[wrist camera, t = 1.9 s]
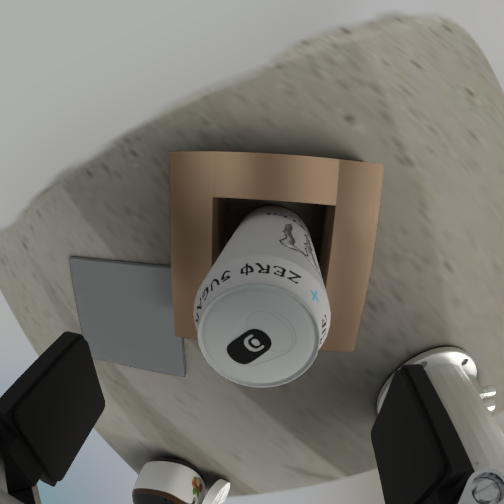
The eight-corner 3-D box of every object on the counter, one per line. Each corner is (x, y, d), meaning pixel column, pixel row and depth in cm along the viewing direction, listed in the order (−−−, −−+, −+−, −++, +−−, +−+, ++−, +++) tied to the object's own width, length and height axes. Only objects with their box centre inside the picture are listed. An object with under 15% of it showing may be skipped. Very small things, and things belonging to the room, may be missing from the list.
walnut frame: (365, 162, 24) (383, 164, 19) (344, 320, 28) (353, 351, 23) (191, 151, 25) (170, 151, 20) (191, 308, 29) (175, 336, 24)
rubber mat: (179, 267, 28) (177, 269, 27) (186, 373, 31) (184, 376, 31) (72, 256, 29) (69, 258, 28) (90, 353, 32) (88, 356, 32)
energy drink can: (324, 244, 26) (365, 347, 12) (270, 288, 28) (253, 416, 13) (276, 188, 25) (263, 234, 11) (221, 237, 27) (153, 329, 12)
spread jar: (140, 450, 37) (113, 510, 26) (208, 448, 35) (188, 520, 24) (179, 491, 40) (161, 545, 29) (241, 490, 38) (231, 552, 27)
